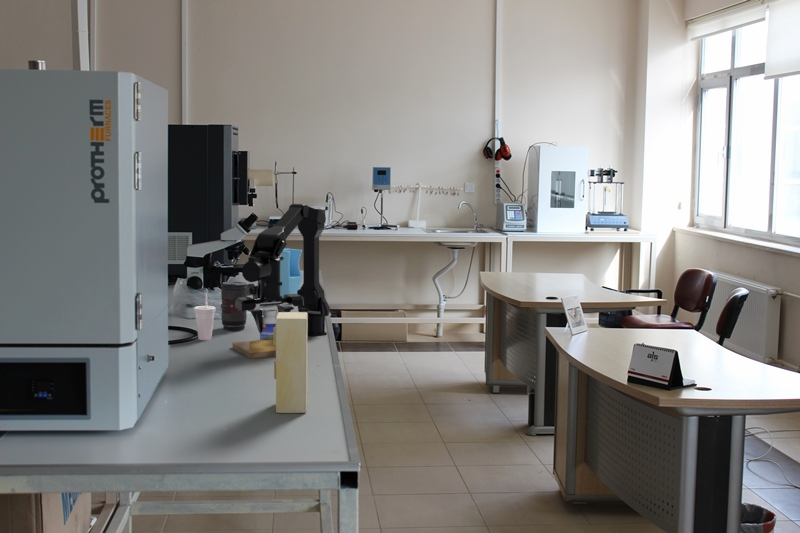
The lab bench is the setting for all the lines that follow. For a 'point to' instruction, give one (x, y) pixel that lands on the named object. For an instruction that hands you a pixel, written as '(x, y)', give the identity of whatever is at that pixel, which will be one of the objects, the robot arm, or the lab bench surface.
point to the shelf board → (256, 348)
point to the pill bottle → (268, 324)
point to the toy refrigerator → (291, 362)
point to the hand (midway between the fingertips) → (269, 331)
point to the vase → (290, 272)
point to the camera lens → (232, 306)
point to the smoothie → (204, 320)
